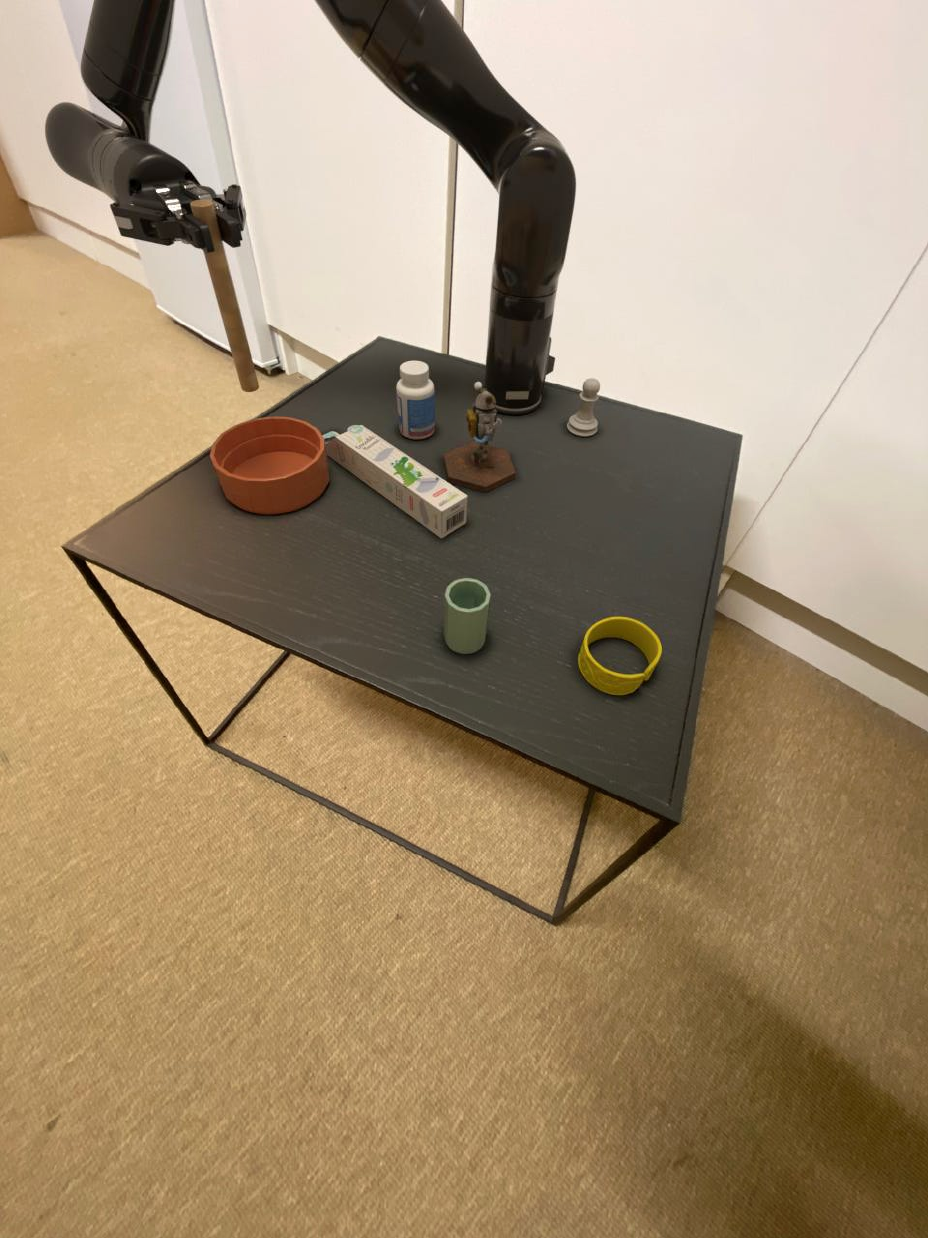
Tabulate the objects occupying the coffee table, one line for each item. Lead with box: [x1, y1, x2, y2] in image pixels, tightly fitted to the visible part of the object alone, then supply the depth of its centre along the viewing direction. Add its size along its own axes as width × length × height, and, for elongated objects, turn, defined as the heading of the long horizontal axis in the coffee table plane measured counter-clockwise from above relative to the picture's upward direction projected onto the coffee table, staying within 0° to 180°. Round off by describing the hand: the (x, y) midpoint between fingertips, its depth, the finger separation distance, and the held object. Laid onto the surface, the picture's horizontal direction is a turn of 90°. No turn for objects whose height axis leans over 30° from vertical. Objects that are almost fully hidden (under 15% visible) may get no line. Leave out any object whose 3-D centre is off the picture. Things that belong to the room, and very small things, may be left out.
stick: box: [190, 200, 260, 393], centre depth 59 cm, size 2×2×18 cm
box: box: [321, 424, 468, 539], centre depth 76 cm, size 4×4×28 cm
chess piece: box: [566, 377, 601, 438], centre depth 84 cm, size 5×5×8 cm
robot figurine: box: [443, 381, 516, 494], centre depth 75 cm, size 11×9×12 cm
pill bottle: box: [396, 360, 436, 440], centre depth 82 cm, size 6×5×10 cm
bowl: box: [209, 416, 331, 515], centre depth 74 cm, size 14×14×6 cm
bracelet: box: [577, 616, 663, 696], centre depth 58 cm, size 7×8×3 cm
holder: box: [443, 577, 492, 655], centre depth 58 cm, size 4×4×7 cm
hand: (221, 237), depth 52 cm, fingers closed on stick, 2 cm apart
